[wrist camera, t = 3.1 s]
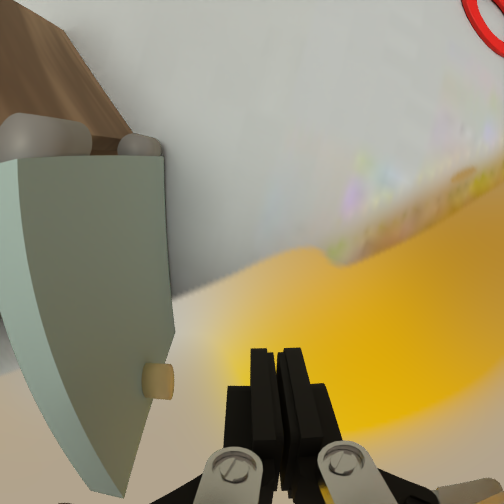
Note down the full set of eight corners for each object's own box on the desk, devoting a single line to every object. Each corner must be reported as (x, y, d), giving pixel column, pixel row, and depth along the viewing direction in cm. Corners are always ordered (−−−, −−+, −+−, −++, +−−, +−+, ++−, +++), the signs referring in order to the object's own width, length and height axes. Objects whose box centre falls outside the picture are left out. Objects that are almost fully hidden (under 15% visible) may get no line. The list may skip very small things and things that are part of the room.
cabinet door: (191, 332, 21) (153, 503, 8) (154, 331, 21) (89, 490, 8) (183, 135, 17) (62, 91, 4) (139, 139, 17) (-24, 119, 4)
